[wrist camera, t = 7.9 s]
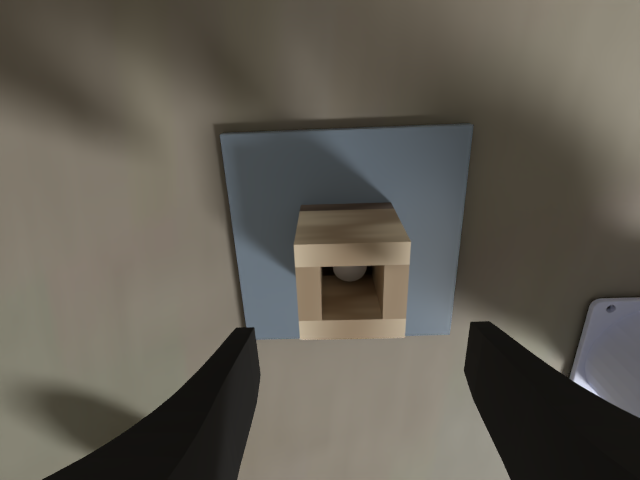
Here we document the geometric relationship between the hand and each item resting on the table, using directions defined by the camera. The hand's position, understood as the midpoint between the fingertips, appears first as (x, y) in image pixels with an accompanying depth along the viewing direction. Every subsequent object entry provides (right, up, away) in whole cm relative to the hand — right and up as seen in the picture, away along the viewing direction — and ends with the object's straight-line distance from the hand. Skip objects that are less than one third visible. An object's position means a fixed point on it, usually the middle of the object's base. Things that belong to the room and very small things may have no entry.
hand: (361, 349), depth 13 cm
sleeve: (0, +3, +8) cm, 8 cm away
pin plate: (0, +4, +8) cm, 9 cm away
